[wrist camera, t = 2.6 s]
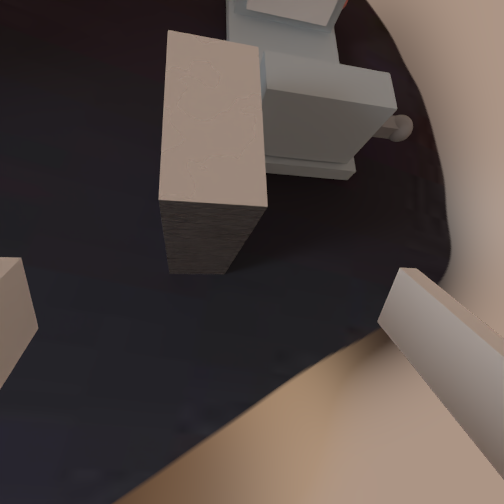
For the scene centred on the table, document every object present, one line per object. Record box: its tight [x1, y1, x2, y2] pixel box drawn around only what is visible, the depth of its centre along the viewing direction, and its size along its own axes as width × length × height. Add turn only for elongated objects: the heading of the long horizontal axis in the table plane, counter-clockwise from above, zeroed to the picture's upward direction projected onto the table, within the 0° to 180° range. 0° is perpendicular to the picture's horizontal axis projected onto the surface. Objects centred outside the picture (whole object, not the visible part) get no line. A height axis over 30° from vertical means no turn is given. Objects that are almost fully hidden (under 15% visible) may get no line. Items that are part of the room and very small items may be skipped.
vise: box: [226, 0, 356, 180], centre depth 26 cm, size 12×21×8 cm, turn 2°
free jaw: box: [260, 50, 413, 164], centre depth 23 cm, size 13×4×6 cm, turn 92°
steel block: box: [159, 30, 268, 274], centre depth 18 cm, size 4×8×12 cm, turn 2°
